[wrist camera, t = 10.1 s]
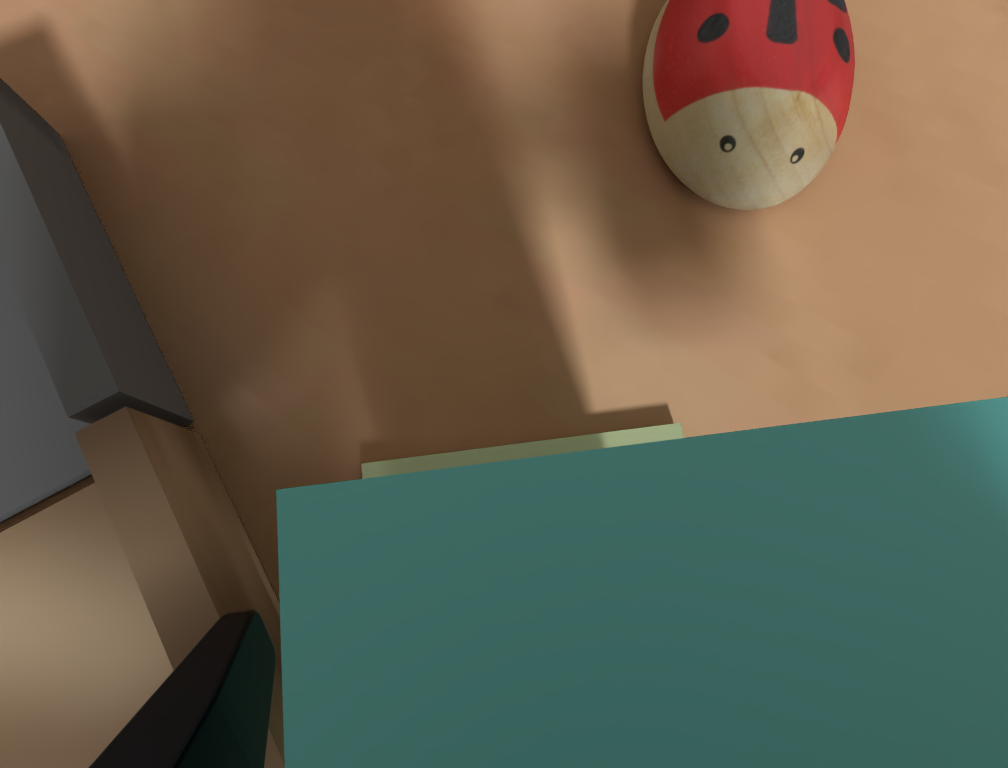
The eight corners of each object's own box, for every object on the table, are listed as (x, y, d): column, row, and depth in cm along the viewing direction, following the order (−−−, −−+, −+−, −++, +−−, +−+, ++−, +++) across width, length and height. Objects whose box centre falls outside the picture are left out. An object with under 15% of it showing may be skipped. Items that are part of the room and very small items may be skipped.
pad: (748, 773, 15) (756, 781, 14) (391, 832, 14) (388, 843, 14) (675, 425, 17) (680, 422, 17) (365, 465, 17) (361, 463, 16)
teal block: (658, 705, 15) (1447, 1470, 3) (460, 735, 14) (314, 1760, 2) (622, 503, 16) (1044, 393, 4) (439, 527, 16) (276, 488, 4)
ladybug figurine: (633, 212, 19) (665, 141, 16) (639, -24, 22) (667, -130, 18) (837, 230, 19) (914, 162, 16) (819, -8, 22) (881, -111, 18)
